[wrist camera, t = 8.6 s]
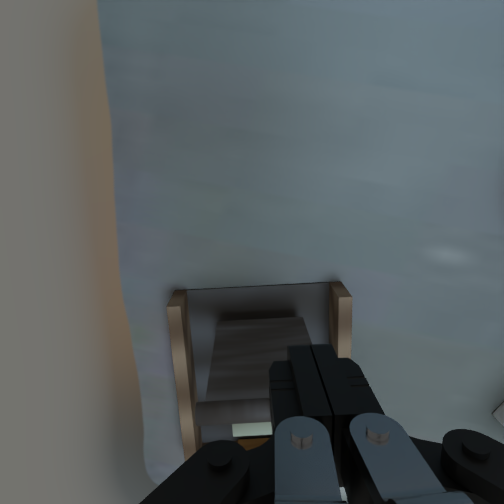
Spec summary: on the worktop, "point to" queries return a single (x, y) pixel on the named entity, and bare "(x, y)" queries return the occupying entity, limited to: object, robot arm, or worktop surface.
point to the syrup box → (500, 414)
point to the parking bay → (244, 308)
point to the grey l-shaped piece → (246, 372)
